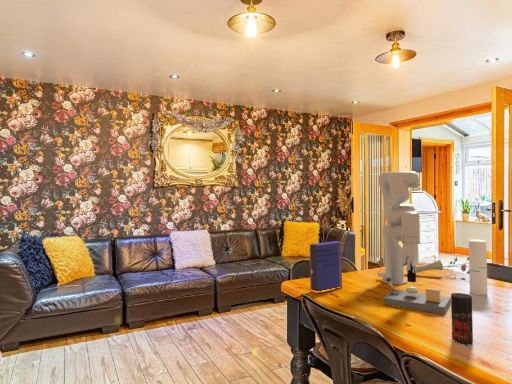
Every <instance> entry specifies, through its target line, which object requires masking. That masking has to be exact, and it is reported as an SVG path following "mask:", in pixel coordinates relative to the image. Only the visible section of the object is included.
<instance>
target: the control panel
mask: <svg viewBox="0 0 512 384" xmlns="http://www.w3.org/2000/svg"><path fill="white" fill-rule="evenodd" d="M394 290H395V291H392V290H391V291H389V292H388V293H387V294H386V295H384V296H383V297H382V301H383V302H382V303H383V305H384V304H389V305H388V306H390V305H394V306H393V307H395V306H400V307H399V308H401V307H406V308H405V309H407V308H411V309H410V310H413V309H416V310H415V311H419V310H422V311H421V312H425V311H427V312H426V313H431V312H433V314H437V315H444V316H445V315H446V314H447V311H448V309H449V308H451V296H444V295H440V302H439V303H438V302H431V301H426V293H423V292H417V293H415V294H412V293H407V292H406V290H404V289H403V290H402V289H395V288H394Z"/></svg>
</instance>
